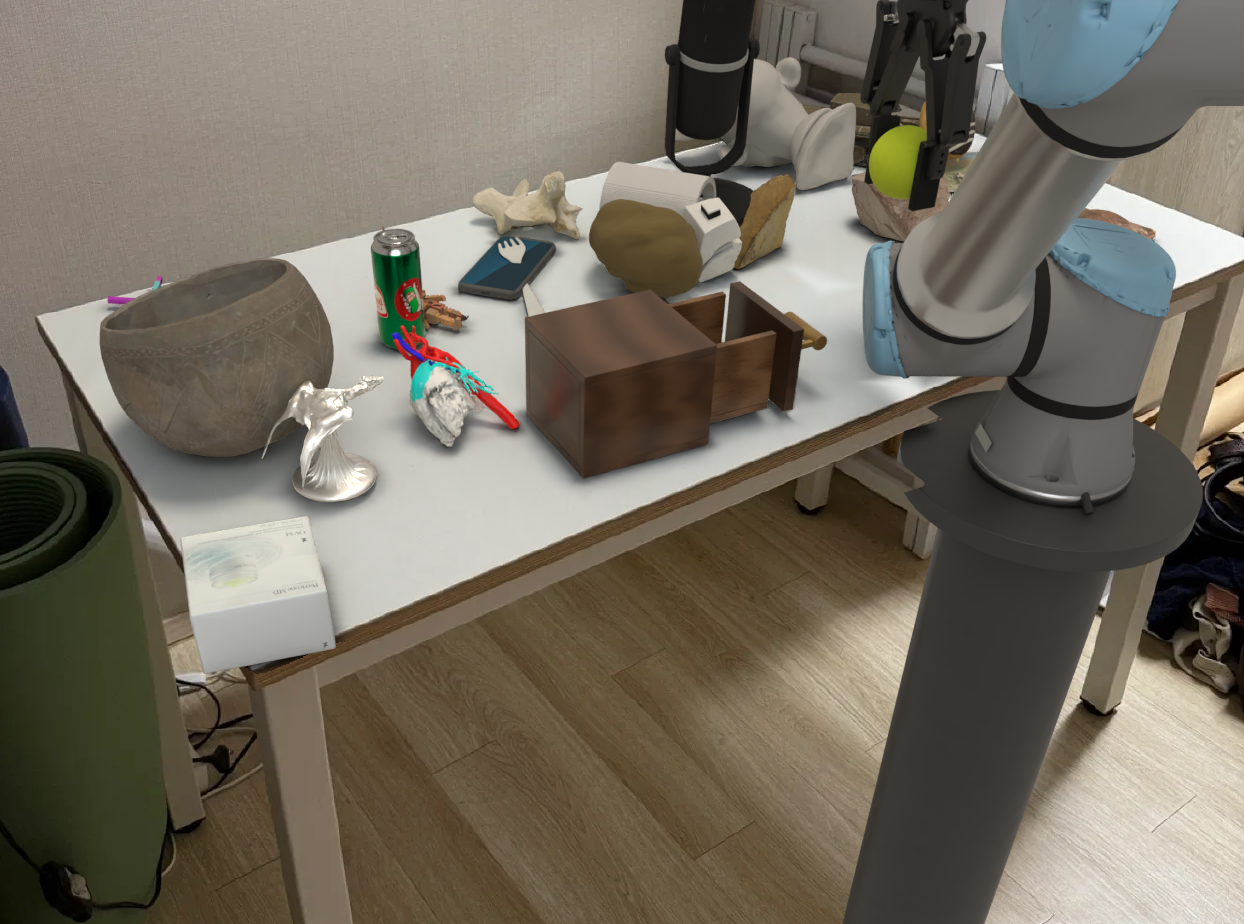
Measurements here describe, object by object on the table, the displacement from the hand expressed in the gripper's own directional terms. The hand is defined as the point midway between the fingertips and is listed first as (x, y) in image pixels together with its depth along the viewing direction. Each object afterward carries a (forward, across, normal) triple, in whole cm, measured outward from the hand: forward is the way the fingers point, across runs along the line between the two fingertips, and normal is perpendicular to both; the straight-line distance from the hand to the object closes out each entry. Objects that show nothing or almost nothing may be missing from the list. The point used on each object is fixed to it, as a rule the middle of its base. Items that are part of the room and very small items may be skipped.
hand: (898, 193), depth 130 cm
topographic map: (+17, +36, -41) cm, 57 cm away
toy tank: (+17, +50, -30) cm, 61 cm away
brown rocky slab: (+17, +12, -42) cm, 47 cm away
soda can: (+17, +21, +47) cm, 55 cm away
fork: (+15, +29, +30) cm, 44 cm away
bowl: (+16, +7, +67) cm, 70 cm away
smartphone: (+17, +33, +30) cm, 48 cm away
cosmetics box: (+14, -14, +72) cm, 75 cm away
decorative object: (+16, +38, +23) cm, 47 cm away
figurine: (+17, -2, +61) cm, 64 cm away
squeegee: (+16, +41, +76) cm, 88 cm away
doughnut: (+6, +42, -39) cm, 58 cm away
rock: (+17, +26, 0) cm, 31 cm away
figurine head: (+15, +39, -24) cm, 48 cm away
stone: (+17, +23, -20) cm, 35 cm away
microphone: (+17, +40, -1) cm, 44 cm away
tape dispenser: (+17, +23, +7) cm, 30 cm away
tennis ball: (-3, 0, 0) cm, 3 cm away
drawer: (+16, -4, +20) cm, 26 cm away
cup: (+12, +38, +14) cm, 42 cm away
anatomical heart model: (+17, +4, +48) cm, 52 cm away
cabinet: (+17, -4, +34) cm, 38 cm away
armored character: (+12, +21, +40) cm, 47 cm away
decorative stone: (+16, +22, +20) cm, 34 cm away
